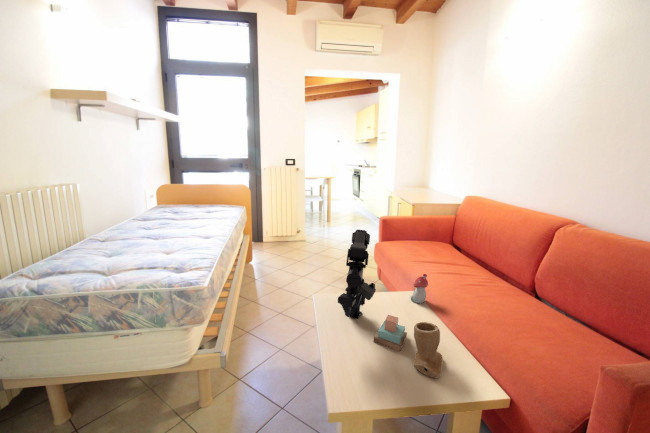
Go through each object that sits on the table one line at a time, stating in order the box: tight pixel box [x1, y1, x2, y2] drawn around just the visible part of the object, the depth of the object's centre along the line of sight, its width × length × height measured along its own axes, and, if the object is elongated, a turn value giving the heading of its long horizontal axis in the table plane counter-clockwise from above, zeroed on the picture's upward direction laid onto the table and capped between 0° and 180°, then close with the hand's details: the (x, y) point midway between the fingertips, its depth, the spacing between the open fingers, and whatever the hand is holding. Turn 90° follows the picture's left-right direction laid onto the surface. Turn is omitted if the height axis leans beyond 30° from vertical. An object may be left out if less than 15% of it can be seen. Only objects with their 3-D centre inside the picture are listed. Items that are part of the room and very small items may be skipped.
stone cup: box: [413, 321, 443, 379], centre depth 114 cm, size 15×12×15 cm
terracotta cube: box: [384, 314, 399, 332], centre depth 127 cm, size 4×4×4 cm
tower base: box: [373, 331, 408, 352], centre depth 129 cm, size 11×11×3 cm
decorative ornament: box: [410, 273, 429, 304], centre depth 163 cm, size 9×6×15 cm
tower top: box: [377, 320, 406, 344], centre depth 128 cm, size 9×9×3 cm
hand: (352, 311), depth 126 cm, fingers open, 9 cm apart
